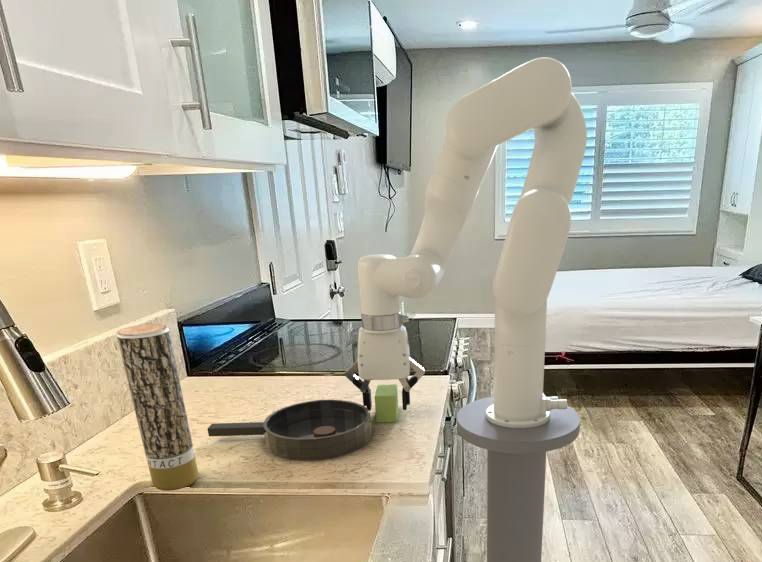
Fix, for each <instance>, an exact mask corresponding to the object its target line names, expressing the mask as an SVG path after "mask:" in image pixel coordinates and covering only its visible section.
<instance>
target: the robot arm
mask: <svg viewBox="0 0 762 562" xmlns="http://www.w3.org/2000/svg"><path fill="white" fill-rule="evenodd" d="M572 85H573V84H572V78H571V75H570V72H569V70H568V69H567V67H566V66H565V65H564V63H562V62H561V61H560V60H557V59H555V58H553V57H547V56H546V57H545V56H544V57H537V58H534V59H531V60H529V61H527V62H525V63H523V64H520V65H519V66H517V67H515V68H513V69H511V70H510V71H508V72H506V73H505V74H503V75H501V76H499V77H497V78H495V79H493V80H492V81H489V82H487V83H486V84H484V85H482V86H481V87H478V88H477V89H474V90H473V91H471V92H469V93H467V94H465V95H463V96H462V97H460V98H459V99H458V100H456V102H454V103H453V104H452V106H451V107H450V109H449V111H448V112H447V115H446V119H445V133H446V136H445V139H444V141H443V144H442V147H441V151H440V152H439V155H438V157H437V161H436V163H435V165H434V169H433V170H432V173H431V176H430V178H429V180H428V184H427V186H426V190H425V196H424V214H423V219H422V223H421V226H420V229H419V232H418V234H417V237H416V240H415V242H414V244H413V247H412V250H411V252H410V254H409V255H407V256H404V257H403V256H402V257H396V256H394V255H392V254H387V253H374V254H372V253H371V254H365V255H362V256H361V257H360V258H359V259H358V261H357V276H358V277H357V279H358V292H359V301H360V314H361V315H360V317H361V327H359V329H358V337H357V359H356V360H355V362H353V363H352V364H351V365H350V366H349V367H348V368H347V369H346V370H345V372H344V376H345V378H346V379H348V380H349V381H350V382H351V383H352V384H353V385H354V386H355V387H356V388H357V389H358V390H359V391H360V392H361V393H362V405H363V406H364V407H366V408H367V409H368V410H369V412H370V411H371V410H372V408H373V407H372V406H373V405H372V404H373V403H372V389H371V388H370V386H369V385H370V383H371V381H391V380H398V381H399V383H400V384H401V386H402V388H401V389H402V390H401V399H402V401H401V403H402V410H403V411H407V410H408V409H407V407H408V406H410V405H411V395H410V394H411V393H410V391H411V389H412V388H413V387H414V386H415V385H416V384H417V383H418V382H419V380H420V379H421V378H422V377H423V376H425V373H426V370H425V368H424V367H422V365H420V364H419V363H417V361H415V360H414V359H413V358H412V357H411V352H410V351H411V350H410V342H409V336H408V331H407V329H406V328H407V327H406V326H405V325H403V324H404V323H409V321H410V320H409V319H410V317H409V314H405V313H403V312H402V309H401V297H403V298H404V297H405V298H412V299H419V298H420V299H421V298H424V297H426V296H428V295H430V294H431V293H432V292H433V291H434V289H435V288H436V287H437V286H438V285H439V284H440V283H441V281H442V279H443V277H444V275H445V272H446V270H447V267H448V265H449V263H450V261H451V258H452V255H453V253H454V251H455V248H456V247H457V243H458V241H459V238H460V236H461V233H462V231H463V229H464V227H465V224H466V223H467V221H468V219H469V216H470V213H471V211H472V209H473V205H474V203H475V201H476V199H477V196H478V194H479V191H480V189H481V186H482V185H483V181H484V179H485V176H486V174H487V173H488V169H489V168H490V165H491V163H492V160H493V158H494V156H495V153H496V151H497V148H498V146H500V145H501V144H504V143H506V142H508V141H510V140H512V139H514V138H516V137H518V136H521V135H522V134H524V133H526V132H528V131H531V130H532V132H533V134H534V145H533V149H532V153H531V157H530V160H529V163H528V169H527V173H526V176H525V178H524V179H525V180H524V183H523V187H522V189H521V192H520V194H519V195H520V196H519V198H518V200H517V202H516V204H515V205H514V206H513V207H514V208H513V210H512V212H511V217H510V219H509V224H508V228H507V230H506V234H505V238H504V241H503V245H502V249H501V252H500V257H499V260H498V263H497V267H496V270H495V272H494V277H493V280H492V294H493V297H494V338H493V339H494V341H493V343H494V346H493V348H494V349H493V362H494V363H493V397H494V404H493V405H491V406H489V407H488V408H487V410H486V418H487V419H488V420H489V421H490V422H491V423H493V424H495V425H498V426H502V427H507V428H516V429H524V428H533V427H537V426H540V425H543V424H545V423H546V422H548V421H549V419H550V411H551V409H567V406H568V400H567V399H566V398H565V399H559V396H546V394H545V393H544V381H545V380H544V379H545V378H544V377H545V356H546V338H547V337H546V336H547V315H548V313H547V312H548V308H547V307H548V297H549V296H550V293H551V290H552V287H553V284H554V281H555V278H556V276H557V272H558V270H559V266H560V263H561V260H562V258H563V257H562V256H563V254H564V251H565V247H566V245H567V241H568V238H569V235H570V231H571V225H572V212H571V204H572V200H573V197H574V193H575V189H576V187H577V183H578V181H579V176H580V172H581V168H582V165H583V161H584V157H585V155H586V154H585V153H586V148H587V141H588V139H587V138H588V136H587V135H588V133H587V123H586V119H585V115H584V112H583V109H582V106H581V105H580V103H579V101H578V99H577V98H576V97H575V95H574V93H573V92H572V90H573V86H572ZM411 369H412V370H413V371H414V372H415V373H414V374H413V375H412V376H411V377H410V378H408V377H409V376H410V374H411ZM355 372H358V376H357V375H356V374H355Z"/></svg>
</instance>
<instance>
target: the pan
mask: <svg viewBox="0 0 762 562" xmlns="http://www.w3.org/2000/svg"><path fill="white" fill-rule="evenodd" d="M371 417H372V416H371V412H370V411H369V410H368V409H367V407H366V406H363V404H361V403H358V402H356V401H351V400H350V401H349V400H344V399H317V400H307V401H303V402H298V403H294V404H291V405H288V406H285V407H284V406H283V407H282V408H280V409H277V410H275V411H274V412H272V413H271V414H269V415H268V416H267V417H266V418H265V419H264V421H263V422H264V426H263V428H264V434H265V435H264V440H265V445H266V448H267V450H268V451H269V453H271V454H273V455H274V456H277V457H279V458H282V459H286V460H293V461H320V460H328V459H333V458H337V457H341V456H344V455H347V454H351V453H353V452H355V451H357V450H359V449H361V448H362V447H364V446H365V445H366V444H367V443H368V442H369V441H370V440H371V438H372V430H373V429H372V418H371ZM322 426H332V427H334V428H335V431H336V434H335V435H331V436H325V437H317V438H315V437H314V432H313V431H314V429H316V428H318V427H322Z"/></svg>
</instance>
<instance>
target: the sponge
mask: <svg viewBox="0 0 762 562" xmlns="http://www.w3.org/2000/svg"><path fill="white" fill-rule="evenodd" d="M398 394H399V393H398V384H397V383H396V384H393V383H392V384H377V386H376V390H375V394H374V407H375V421H376V423H397V421H398V415H399V395H398Z"/></svg>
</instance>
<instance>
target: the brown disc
mask: <svg viewBox="0 0 762 562" xmlns="http://www.w3.org/2000/svg"><path fill="white" fill-rule="evenodd" d="M313 432H314V437H315V438H317V437H325V436H331V435H335V434H336V431H335V428H334V427H332V426H322V427H318V428H316V429H314V431H313Z"/></svg>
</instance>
